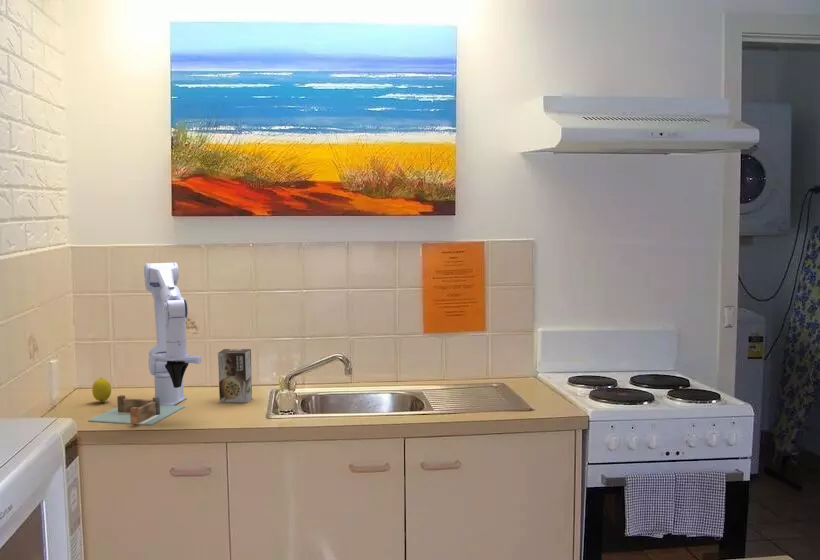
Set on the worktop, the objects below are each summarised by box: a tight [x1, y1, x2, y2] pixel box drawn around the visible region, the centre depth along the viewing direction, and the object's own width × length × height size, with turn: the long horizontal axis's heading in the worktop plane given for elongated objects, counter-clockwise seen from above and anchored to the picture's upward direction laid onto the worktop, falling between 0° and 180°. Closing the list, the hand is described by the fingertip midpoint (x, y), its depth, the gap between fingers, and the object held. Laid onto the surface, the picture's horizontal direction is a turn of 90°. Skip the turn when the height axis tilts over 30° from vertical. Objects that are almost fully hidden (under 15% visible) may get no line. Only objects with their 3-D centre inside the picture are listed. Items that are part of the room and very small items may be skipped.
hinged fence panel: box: [130, 402, 156, 425], centre depth 232 cm, size 11×2×4 cm, turn 166°
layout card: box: [87, 405, 186, 426], centre depth 240 cm, size 20×20×1 cm
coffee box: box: [217, 348, 253, 404], centre depth 255 cm, size 9×6×16 cm
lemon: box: [91, 377, 112, 403], centre depth 252 cm, size 6×6×8 cm
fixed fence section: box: [116, 394, 160, 415], centre depth 239 cm, size 13×2×5 cm, turn 79°
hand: (177, 386), depth 234 cm, fingers closed
